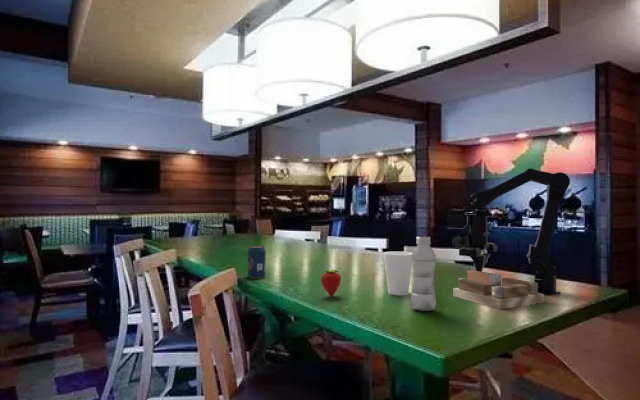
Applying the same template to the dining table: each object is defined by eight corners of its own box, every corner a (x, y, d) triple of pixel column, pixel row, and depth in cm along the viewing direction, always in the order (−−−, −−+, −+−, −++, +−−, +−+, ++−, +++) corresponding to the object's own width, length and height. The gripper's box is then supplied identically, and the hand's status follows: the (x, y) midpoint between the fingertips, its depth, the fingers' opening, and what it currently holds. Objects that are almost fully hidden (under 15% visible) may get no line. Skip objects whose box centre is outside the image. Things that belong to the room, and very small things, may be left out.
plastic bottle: (417, 306, 120) (417, 235, 120) (439, 310, 115) (440, 237, 115) (406, 310, 115) (406, 237, 115) (429, 314, 110) (429, 238, 110)
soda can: (245, 276, 167) (245, 246, 168) (261, 275, 171) (262, 245, 171) (251, 279, 161) (251, 247, 161) (268, 277, 165) (268, 247, 165)
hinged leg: (503, 284, 137) (503, 274, 137) (496, 285, 135) (496, 275, 135) (473, 278, 147) (473, 269, 147) (466, 279, 145) (466, 270, 145)
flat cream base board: (494, 291, 140) (494, 274, 140) (543, 302, 124) (543, 283, 124) (453, 296, 133) (453, 278, 133) (499, 309, 116) (499, 288, 116)
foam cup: (391, 297, 131) (391, 255, 131) (379, 291, 140) (379, 251, 140) (418, 295, 134) (418, 254, 134) (405, 289, 143) (405, 251, 143)
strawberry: (317, 297, 130) (317, 265, 130) (328, 293, 137) (328, 262, 137) (334, 299, 127) (334, 266, 127) (344, 295, 134) (344, 263, 134)
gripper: (467, 226, 158) (467, 267, 158) (444, 230, 144) (444, 275, 145) (497, 227, 151) (497, 271, 151) (476, 231, 137) (476, 279, 137)
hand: (478, 274), depth 146 cm, fingers closed
